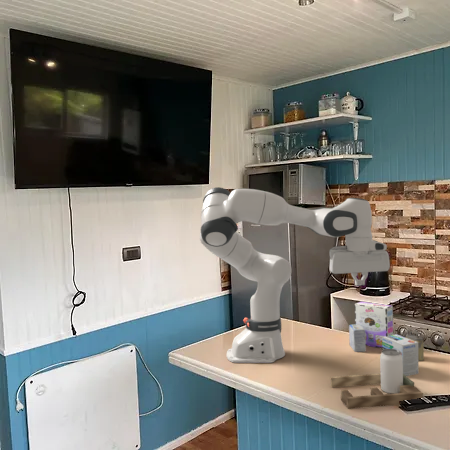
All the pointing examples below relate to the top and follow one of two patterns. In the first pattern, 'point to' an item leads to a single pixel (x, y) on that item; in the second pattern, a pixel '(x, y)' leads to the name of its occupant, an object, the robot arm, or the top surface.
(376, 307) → the candy box
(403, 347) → the light bulb box
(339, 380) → the trap box
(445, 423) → the top surface
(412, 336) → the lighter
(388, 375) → the can
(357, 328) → the medicine box
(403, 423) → the top surface
